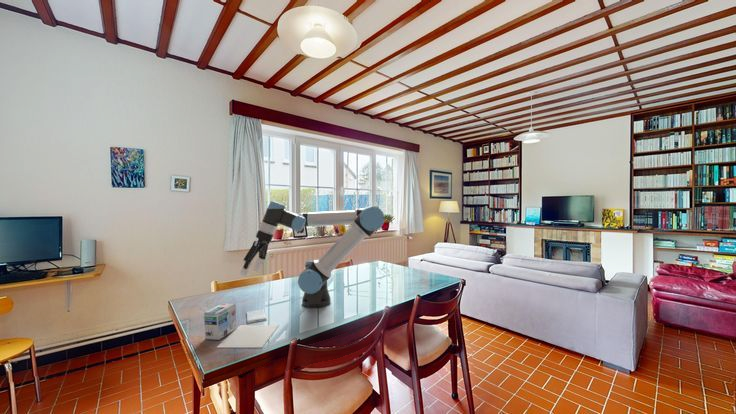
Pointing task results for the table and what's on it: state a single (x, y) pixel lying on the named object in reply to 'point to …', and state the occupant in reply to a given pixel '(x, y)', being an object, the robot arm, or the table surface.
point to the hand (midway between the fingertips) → (249, 272)
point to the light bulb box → (220, 321)
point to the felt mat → (249, 336)
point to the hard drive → (256, 316)
